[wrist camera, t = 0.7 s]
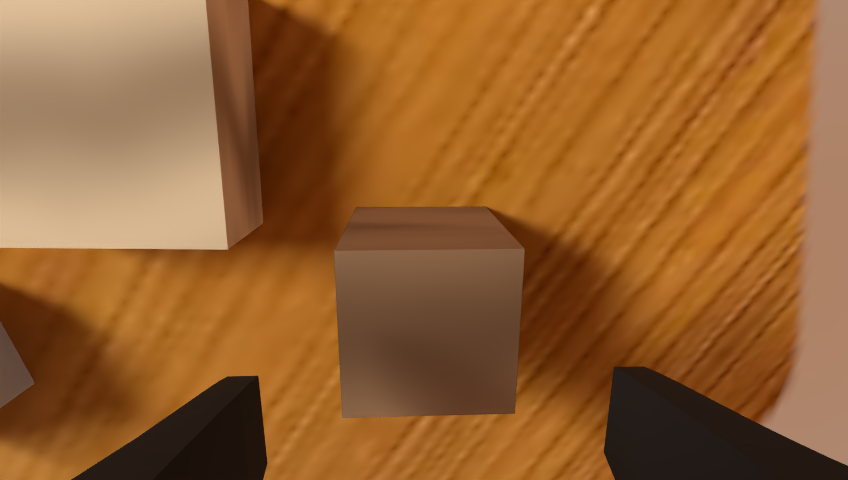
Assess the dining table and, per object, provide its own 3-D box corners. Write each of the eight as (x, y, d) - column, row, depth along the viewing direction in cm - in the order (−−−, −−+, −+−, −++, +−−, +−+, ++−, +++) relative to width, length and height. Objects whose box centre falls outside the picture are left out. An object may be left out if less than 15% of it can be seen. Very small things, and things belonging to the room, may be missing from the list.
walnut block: (481, 324, 19) (514, 413, 13) (360, 326, 19) (342, 417, 13) (485, 206, 18) (524, 248, 12) (356, 207, 18) (333, 250, 12)
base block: (265, 221, 18) (227, 249, 14) (51, 219, 17) (-47, 247, 14) (250, -6, 16) (201, -45, 12) (8, -14, 15) (-123, -58, 12)
